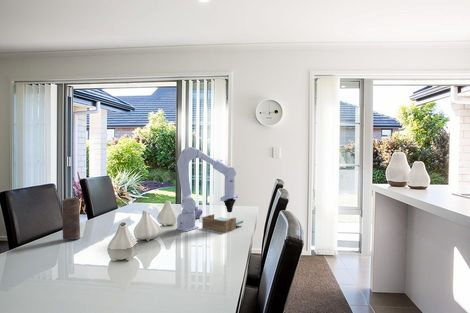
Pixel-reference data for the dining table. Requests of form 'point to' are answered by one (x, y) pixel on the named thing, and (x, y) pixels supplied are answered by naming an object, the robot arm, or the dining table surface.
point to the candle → (71, 218)
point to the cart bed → (218, 224)
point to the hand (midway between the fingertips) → (229, 212)
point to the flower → (198, 212)
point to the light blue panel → (228, 218)
